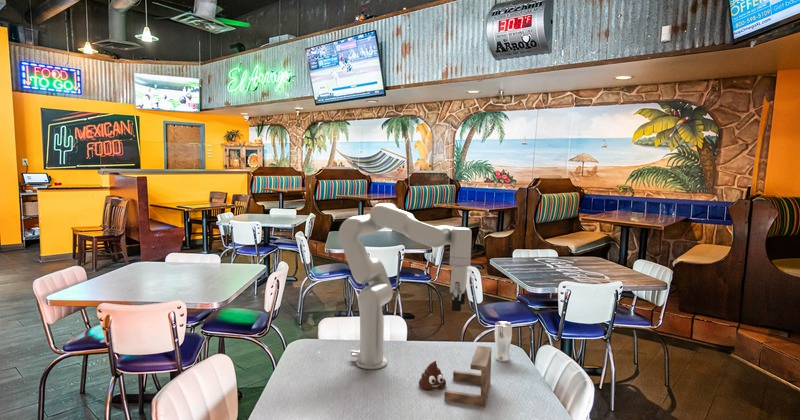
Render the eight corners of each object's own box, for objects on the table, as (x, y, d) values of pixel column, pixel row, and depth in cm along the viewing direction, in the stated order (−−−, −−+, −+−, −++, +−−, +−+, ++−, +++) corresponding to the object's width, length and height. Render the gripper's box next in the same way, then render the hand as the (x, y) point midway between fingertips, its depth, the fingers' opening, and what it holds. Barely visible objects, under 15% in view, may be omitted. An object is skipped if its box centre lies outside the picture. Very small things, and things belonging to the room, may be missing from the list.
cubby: (444, 400, 149) (445, 361, 148) (453, 378, 166) (454, 343, 165) (485, 407, 145) (486, 366, 144) (490, 383, 162) (491, 347, 161)
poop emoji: (440, 379, 165) (441, 355, 164) (450, 390, 156) (450, 364, 156) (415, 383, 162) (415, 358, 161) (423, 393, 153) (424, 367, 153)
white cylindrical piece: (511, 363, 181) (512, 326, 180) (494, 361, 182) (494, 325, 181) (510, 356, 188) (511, 321, 187) (493, 355, 189) (494, 320, 188)
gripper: (453, 256, 171) (451, 300, 172) (445, 264, 154) (444, 312, 155) (473, 258, 169) (471, 302, 170) (467, 266, 152) (465, 315, 153)
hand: (458, 307), depth 163 cm, fingers open, 9 cm apart
